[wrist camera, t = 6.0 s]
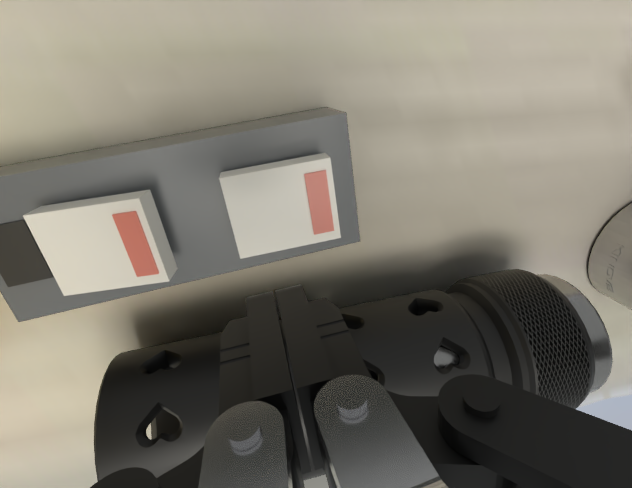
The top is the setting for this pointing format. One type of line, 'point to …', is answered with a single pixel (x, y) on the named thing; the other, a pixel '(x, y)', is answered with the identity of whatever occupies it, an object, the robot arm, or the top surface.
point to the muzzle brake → (369, 362)
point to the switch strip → (166, 200)
